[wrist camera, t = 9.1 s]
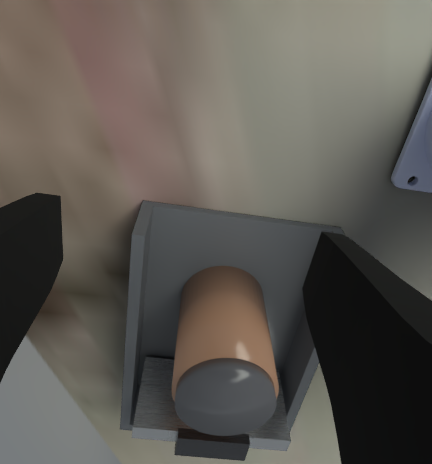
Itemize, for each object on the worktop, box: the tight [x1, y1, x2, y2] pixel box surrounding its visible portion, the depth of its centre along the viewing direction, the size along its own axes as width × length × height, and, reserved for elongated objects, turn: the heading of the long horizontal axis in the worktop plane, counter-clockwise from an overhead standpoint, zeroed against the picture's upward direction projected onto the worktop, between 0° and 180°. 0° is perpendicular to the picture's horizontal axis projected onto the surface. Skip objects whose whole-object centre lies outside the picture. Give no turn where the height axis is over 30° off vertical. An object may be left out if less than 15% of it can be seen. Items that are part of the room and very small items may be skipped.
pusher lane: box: [120, 200, 344, 433], centre depth 24 cm, size 11×15×4 cm
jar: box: [171, 266, 279, 436], centre depth 21 cm, size 5×5×7 cm
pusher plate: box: [132, 357, 291, 461], centre depth 25 cm, size 9×2×6 cm, turn 81°
